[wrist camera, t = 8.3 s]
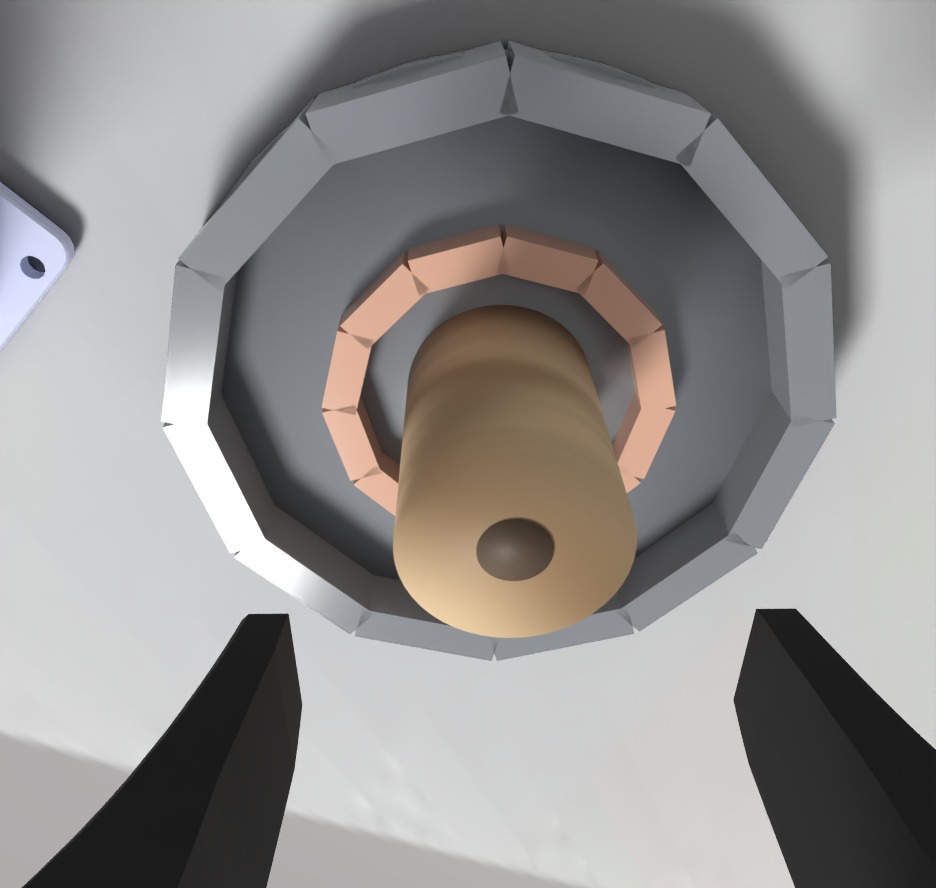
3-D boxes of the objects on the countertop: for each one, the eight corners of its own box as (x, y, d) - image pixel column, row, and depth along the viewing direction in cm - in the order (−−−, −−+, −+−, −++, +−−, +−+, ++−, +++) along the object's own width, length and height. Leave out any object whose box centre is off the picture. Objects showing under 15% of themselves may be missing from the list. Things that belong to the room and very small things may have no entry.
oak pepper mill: (497, 495, 22) (511, 672, 17) (369, 391, 20) (342, 554, 15) (628, 388, 20) (687, 549, 15) (502, 265, 19) (520, 401, 14)
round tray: (489, 679, 27) (492, 732, 25) (63, 383, 21) (29, 425, 19) (923, 378, 21) (964, 420, 19) (509, -141, 15) (516, -147, 14)
